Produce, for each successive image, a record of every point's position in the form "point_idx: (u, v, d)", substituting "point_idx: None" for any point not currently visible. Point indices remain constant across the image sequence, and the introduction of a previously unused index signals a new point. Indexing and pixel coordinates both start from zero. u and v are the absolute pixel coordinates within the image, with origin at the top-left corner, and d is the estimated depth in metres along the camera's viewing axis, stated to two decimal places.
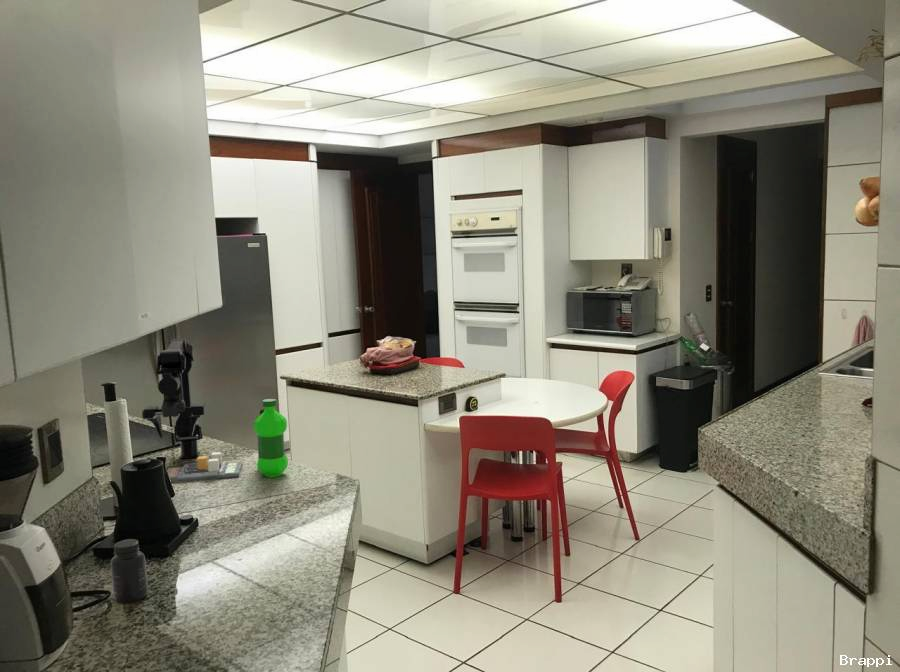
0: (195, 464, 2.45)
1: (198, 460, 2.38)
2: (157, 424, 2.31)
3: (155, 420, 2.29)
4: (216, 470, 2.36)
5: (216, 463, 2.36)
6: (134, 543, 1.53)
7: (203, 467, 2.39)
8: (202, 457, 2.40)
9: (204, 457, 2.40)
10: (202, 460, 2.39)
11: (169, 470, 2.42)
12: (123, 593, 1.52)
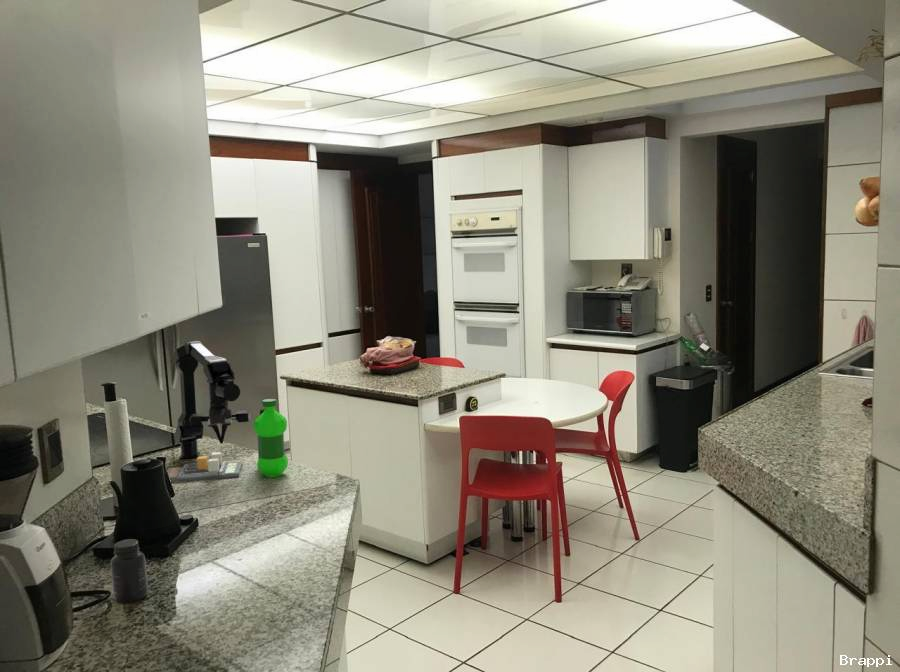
0: (195, 464, 2.45)
1: (198, 460, 2.38)
2: (217, 430, 2.38)
3: (216, 426, 2.37)
4: (216, 470, 2.36)
5: (216, 463, 2.36)
6: (134, 543, 1.53)
7: (203, 467, 2.39)
8: (202, 457, 2.40)
9: (204, 457, 2.40)
10: (202, 460, 2.39)
11: (169, 470, 2.42)
12: (123, 593, 1.52)
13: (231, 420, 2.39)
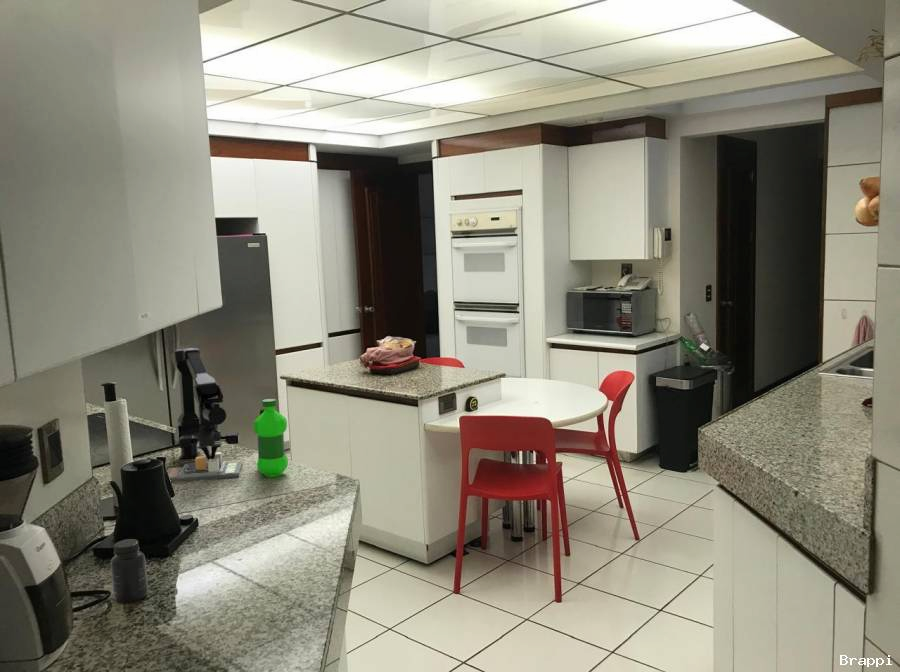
0: (195, 464, 2.45)
1: (196, 460, 2.38)
2: (207, 452, 2.39)
3: (205, 448, 2.37)
4: (216, 470, 2.36)
5: (216, 463, 2.36)
6: (134, 543, 1.53)
7: (201, 467, 2.39)
8: (200, 457, 2.40)
9: (202, 457, 2.40)
10: (200, 460, 2.39)
11: (169, 470, 2.42)
12: (123, 593, 1.52)
13: (221, 442, 2.40)
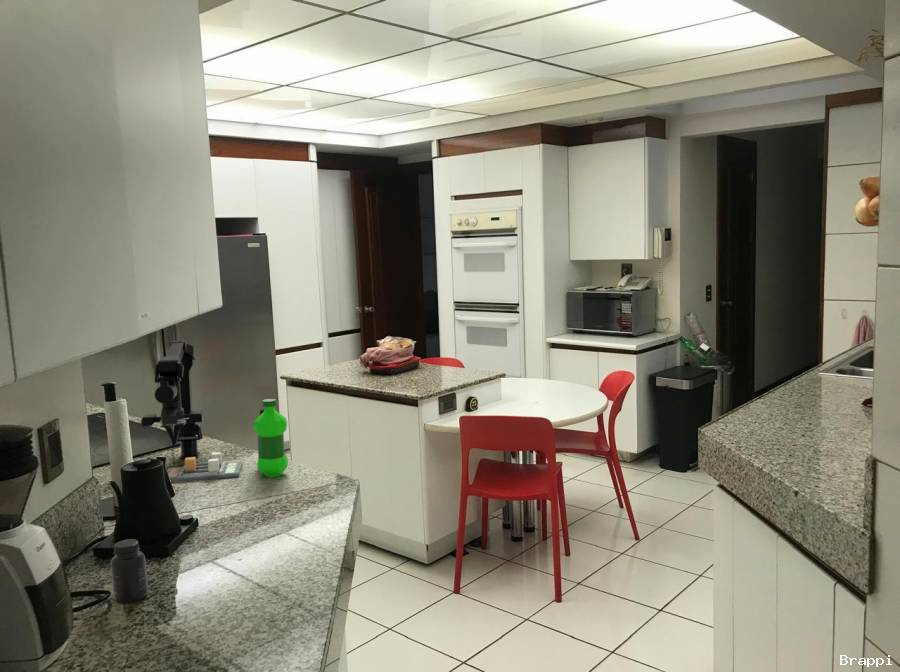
0: None
1: (186, 461, 2.38)
2: (170, 430, 2.35)
3: (168, 427, 2.34)
4: (216, 470, 2.36)
5: (216, 463, 2.36)
6: (134, 543, 1.53)
7: (191, 468, 2.38)
8: (190, 458, 2.39)
9: (192, 458, 2.39)
10: (190, 461, 2.38)
11: (169, 470, 2.42)
12: (123, 593, 1.52)
13: (184, 421, 2.37)
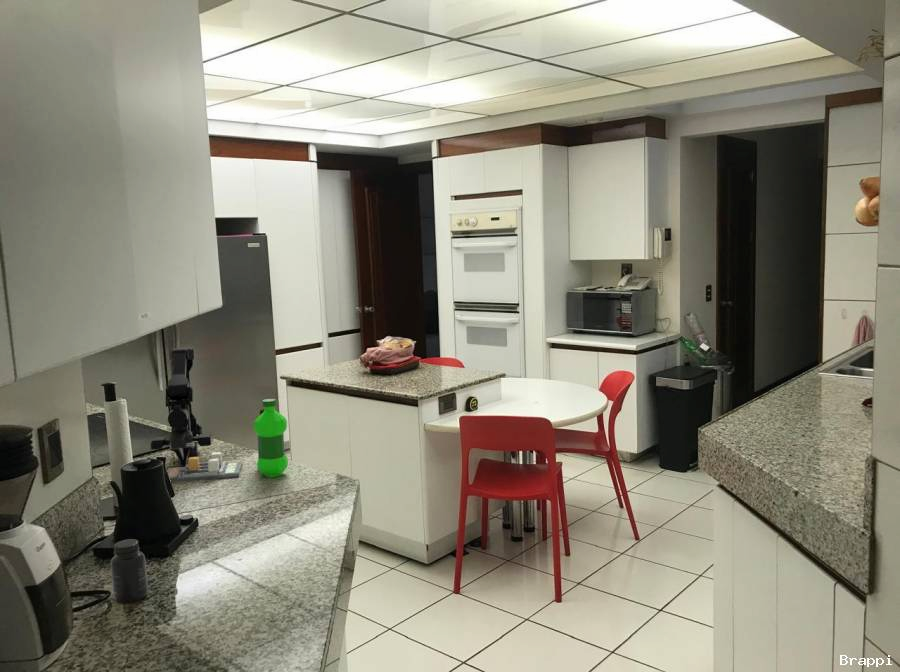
0: None
1: (189, 461, 2.38)
2: (179, 454, 2.37)
3: (177, 450, 2.36)
4: (216, 470, 2.36)
5: (216, 463, 2.36)
6: (134, 543, 1.53)
7: (194, 468, 2.38)
8: (193, 458, 2.39)
9: (195, 458, 2.39)
10: (193, 461, 2.38)
11: (169, 470, 2.42)
12: (123, 593, 1.52)
13: (193, 444, 2.38)
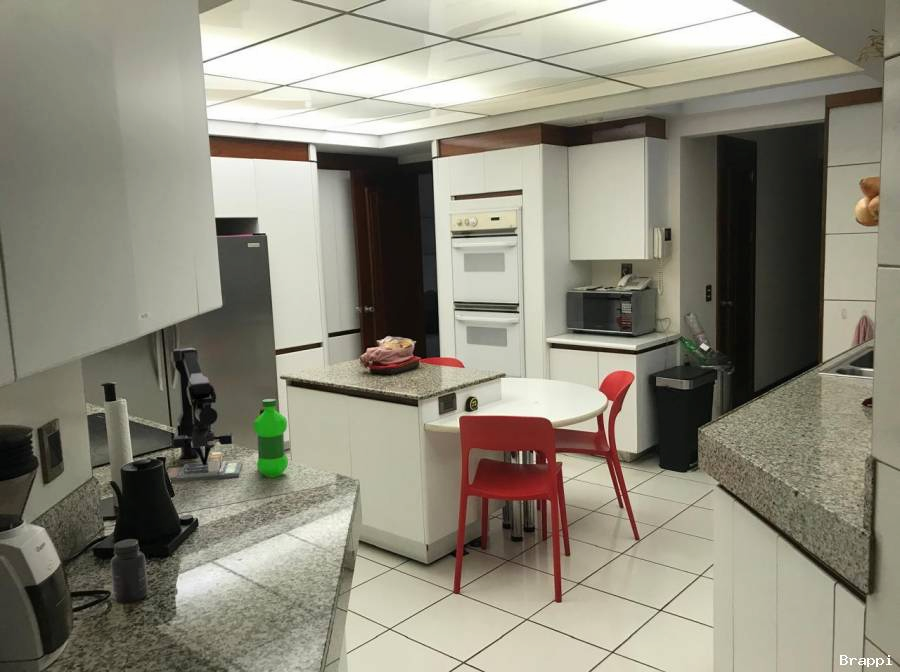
0: (195, 464, 2.45)
1: None
2: (200, 452, 2.38)
3: (199, 448, 2.37)
4: (216, 470, 2.36)
5: (216, 463, 2.36)
6: (134, 543, 1.53)
7: None
8: (214, 456, 2.41)
9: (216, 456, 2.41)
10: None
11: (169, 470, 2.42)
12: (123, 593, 1.52)
13: (214, 442, 2.39)
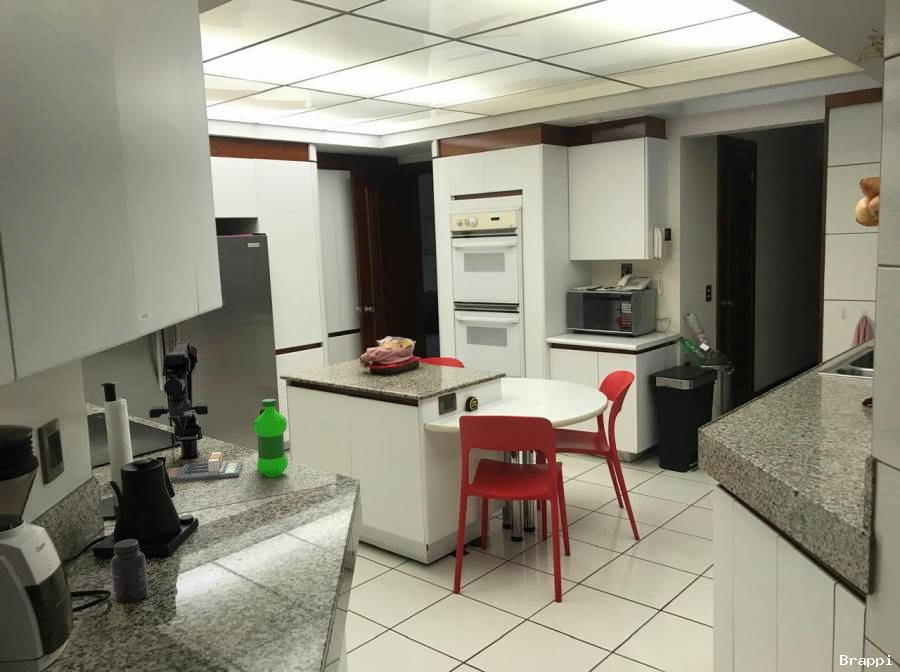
0: (195, 464, 2.45)
1: None
2: (177, 422, 2.44)
3: (175, 418, 2.43)
4: (216, 470, 2.36)
5: (216, 463, 2.36)
6: (134, 543, 1.53)
7: None
8: (214, 456, 2.41)
9: (216, 456, 2.41)
10: None
11: (169, 470, 2.42)
12: (123, 593, 1.52)
13: (191, 412, 2.45)
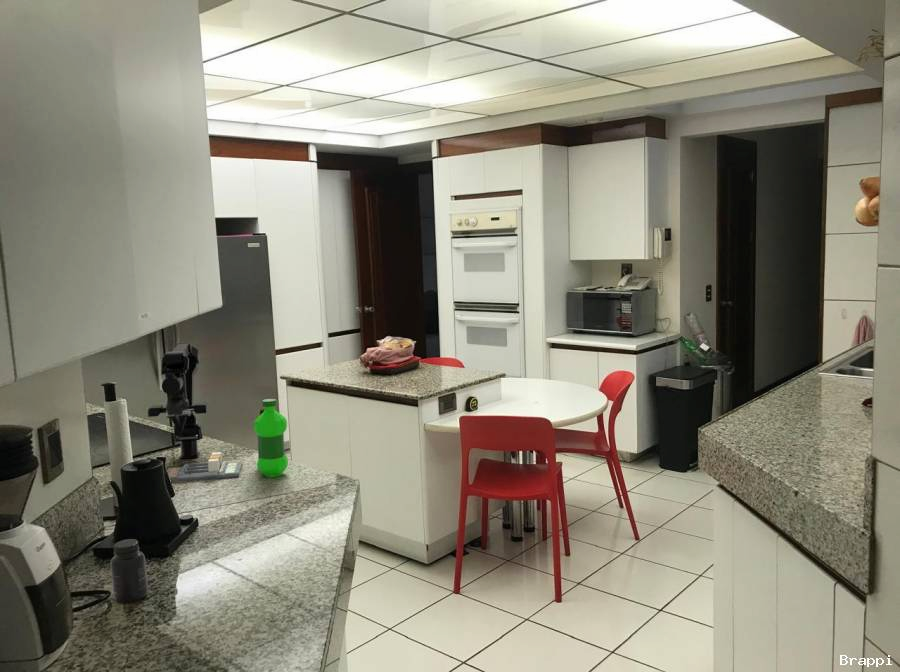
0: (195, 464, 2.45)
1: None
2: (176, 421, 2.44)
3: (174, 417, 2.43)
4: (216, 470, 2.36)
5: (216, 463, 2.36)
6: (134, 543, 1.53)
7: None
8: (214, 456, 2.41)
9: (216, 456, 2.41)
10: None
11: (169, 470, 2.42)
12: (123, 593, 1.52)
13: (189, 411, 2.45)
